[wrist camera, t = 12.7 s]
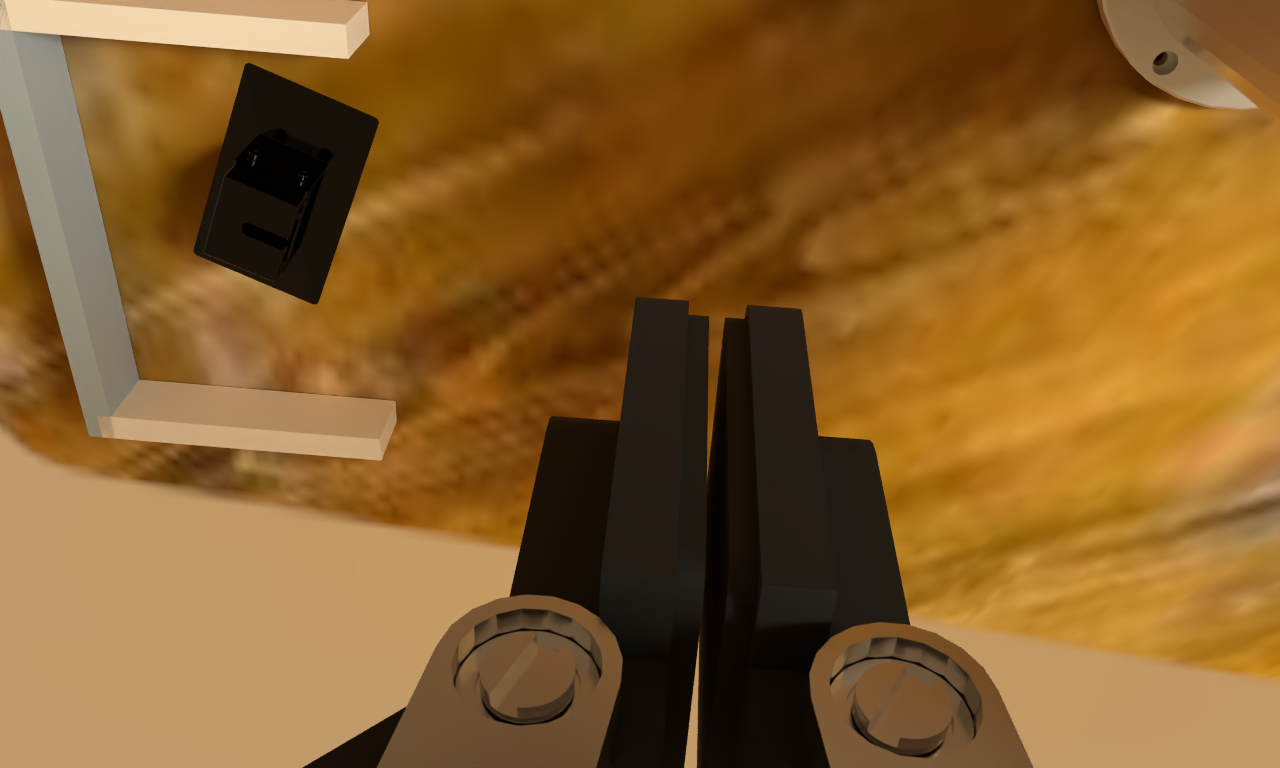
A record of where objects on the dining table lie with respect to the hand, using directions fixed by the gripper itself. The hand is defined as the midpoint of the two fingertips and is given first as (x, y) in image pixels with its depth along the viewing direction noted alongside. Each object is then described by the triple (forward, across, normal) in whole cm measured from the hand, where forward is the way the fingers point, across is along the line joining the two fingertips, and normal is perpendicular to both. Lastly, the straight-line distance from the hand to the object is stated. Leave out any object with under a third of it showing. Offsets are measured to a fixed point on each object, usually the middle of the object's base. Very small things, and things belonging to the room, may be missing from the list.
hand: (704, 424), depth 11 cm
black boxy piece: (+32, +17, +12) cm, 38 cm away
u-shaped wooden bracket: (+31, +19, +14) cm, 39 cm away
